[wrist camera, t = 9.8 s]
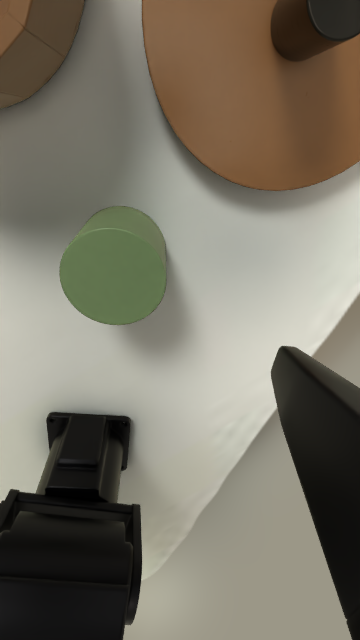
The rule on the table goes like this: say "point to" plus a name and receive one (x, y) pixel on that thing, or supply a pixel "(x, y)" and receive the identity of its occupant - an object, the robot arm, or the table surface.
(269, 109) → the wooden lid
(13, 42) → the brown shallow round container
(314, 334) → the table surface
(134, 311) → the candle
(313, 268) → the table surface
